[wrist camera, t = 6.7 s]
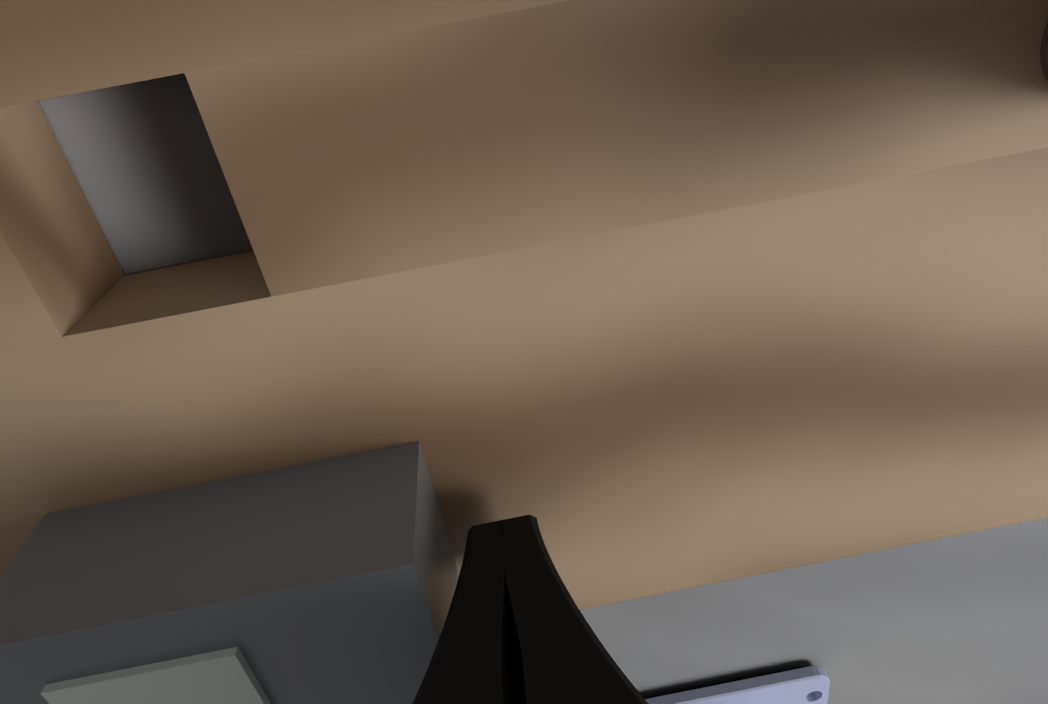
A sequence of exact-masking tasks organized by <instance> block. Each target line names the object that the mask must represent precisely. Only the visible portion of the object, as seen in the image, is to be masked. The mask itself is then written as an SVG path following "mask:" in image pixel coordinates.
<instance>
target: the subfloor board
mask: <svg viewBox="0 0 1048 704" xmlns="http://www.w3.org/2000/svg"><path fill="white" fill-rule="evenodd" d="M1047 21H1048V0H0V577H1V575H2V574H3V572H4V571H5V570H6V568H7V567H8V565H9V564H10V563H11V561H12V560H13V559H14V557H15V556H16V554H17V553H18V552H19V550H20V549H21V547H22V546H23V545H24V543H25V542H26V540H27V539H28V538H29V536H30V535H31V534H32V532H33V531H34V529H35V528H36V527H37V525H38V524H39V522H40V521H41V520H42V518H43V517H44V515H45V514H47V513H52V512H57V511H62V510H67V509H72V508H77V507H83V506H88V505H93V504H98V503H103V502H108V501H113V500H119V499H124V498H129V497H134V496H139V495H144V494H149V493H155V492H160V491H165V490H170V489H175V488H180V487H185V486H191V485H196V484H201V483H206V482H211V481H216V480H221V479H227V478H232V477H237V476H242V475H247V474H252V473H257V472H263V471H268V470H273V469H278V468H283V467H288V466H293V465H299V464H304V463H309V462H314V461H319V460H324V459H329V458H335V457H340V456H345V455H350V454H355V453H360V452H365V451H371V450H376V449H381V448H386V447H391V446H396V445H401V444H407V443H412V442H417V441H419V442H420V446H421V449H422V452H423V456H424V459H425V462H426V466H427V469H428V472H429V475H430V479H431V482H432V485H433V489H434V492H435V495H436V499H437V502H438V505H439V509H440V512H441V515H442V519H443V522H444V525H445V528H446V532H447V535H448V538H449V542H450V545H451V548H452V552H453V555H454V558H455V562H456V565H457V568H458V572H459V574H460V570H461V566H462V562H463V557H464V552H465V547H466V541H467V534H468V530H469V529H470V528H471V527H472V526H474V525H479V524H484V523H489V522H494V521H499V520H504V519H509V518H514V517H520V516H525V515H532V516H534V517H536V518H537V522H538V526H539V529H540V533H541V536H542V538H543V541H544V544H545V546H546V548H547V551H548V553H549V555H550V557H551V559H552V562H553V564H554V566H555V568H556V570H557V572H558V574H559V576H560V578H561V579H562V581H563V583H564V585H565V586H566V588H567V590H568V592H569V593H570V595H571V597H572V599H573V600H574V602H575V604H576V605H577V607H578V609H579V610H581V609H586V608H591V607H596V606H601V605H606V604H611V603H616V602H622V601H627V600H632V599H637V598H642V597H647V596H652V595H657V594H662V593H667V592H672V591H677V590H682V589H687V588H692V587H697V586H702V585H707V584H712V583H718V582H723V581H728V580H733V579H738V578H743V577H748V576H753V575H758V574H763V573H768V572H773V571H778V570H783V569H788V568H793V567H798V566H803V565H808V564H814V563H819V562H824V561H829V560H834V559H839V558H844V557H849V556H854V555H859V554H864V553H869V552H874V551H879V550H884V549H889V548H894V547H899V546H905V545H910V544H915V543H920V542H925V541H930V540H935V539H940V538H945V537H950V536H955V535H960V534H965V533H970V532H975V531H980V530H985V529H990V528H995V527H1001V526H1006V525H1011V524H1016V523H1021V522H1026V521H1031V520H1036V519H1041V518H1046V517H1048V82H1047V81H1046V79H1045V77H1044V75H1043V72H1042V68H1041V62H1040V48H1041V41H1042V37H1043V33H1044V30H1045V27H1046V24H1047ZM182 73H185V76H186V78H187V81H188V84H189V86H190V89H191V91H192V94H193V96H194V99H195V102H196V104H197V107H198V109H199V112H200V114H201V117H202V120H203V122H204V125H205V127H206V130H207V132H208V135H209V138H210V140H211V143H212V145H213V148H214V150H215V153H216V156H217V158H218V161H219V163H220V166H221V168H222V171H223V174H224V176H225V179H226V181H227V184H228V186H229V189H230V192H231V194H232V197H233V199H234V202H235V204H236V207H237V210H238V212H239V215H240V217H241V220H242V222H243V225H244V228H245V230H246V233H247V235H248V238H249V240H250V243H251V246H252V248H253V251H249V252H243V253H238V254H233V255H228V256H223V257H217V258H212V259H207V260H202V261H196V262H191V263H186V264H181V265H176V266H170V267H165V268H160V269H155V270H149V271H144V272H139V273H134V274H129V275H124V273H123V271H122V269H121V267H120V265H119V263H118V261H117V259H116V257H115V255H114V253H113V251H112V249H111V247H110V245H109V243H108V241H107V239H106V237H105V235H104V233H103V231H102V229H101V227H100V225H99V223H98V221H97V219H96V217H95V215H94V213H93V211H92V209H91V207H90V205H89V203H88V201H87V199H86V197H85V195H84V193H83V191H82V189H81V187H80V185H79V183H78V181H77V179H76V177H75V175H74V173H73V171H72V169H71V167H70V165H69V163H68V161H67V159H66V157H65V155H64V153H63V151H62V149H61V147H60V145H59V143H58V141H57V139H56V137H55V135H54V133H53V131H52V129H51V127H50V125H49V123H48V121H47V119H46V117H45V115H44V113H43V111H42V109H41V107H40V105H39V103H38V101H39V100H44V99H50V98H55V97H60V96H66V95H71V94H76V93H82V92H87V91H92V90H97V89H103V88H108V87H113V86H119V85H124V84H129V83H135V82H140V81H145V80H150V79H156V78H161V77H166V76H172V75H177V74H182Z"/></svg>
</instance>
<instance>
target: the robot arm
mask: <svg viewBox="0 0 1048 704" xmlns="http://www.w3.org/2000/svg"><path fill="white" fill-rule="evenodd" d="M829 686H830V680H829V678H828V676H827V674H826V672H825V670H824V669H823V668H821V667H817V666H809V667H804V668H799V669H794V670H789V671H784V672H779V673H774V674H769V675H764V676H759V677H754V678H749V679H744V680H739V681H734V682H729V683H724V684H719V685H714V686H709V687H703V688H698V689H693V690H688V691H683V692H678V693H673V694H668V695H663V696H658V697H653V698H648V699H644V698H643V697H642V695H641V694H640V693H639V692H638V691H637V689H636V688H635V687H634V686H633V685H632V683H631V682H630V681H629V680H628V678H627V677H626V676H625V674H624V673H623V672H622V671H621V669H620V668H619V667H618V665H617V664H616V663H615V661H614V660H613V659H612V657H611V656H610V655H609V653H608V652H607V651H606V649H605V648H604V646H603V645H602V643H601V642H600V641H599V639H598V638H597V636H596V635H595V633H594V632H593V630H592V629H591V627H590V626H589V624H588V623H587V621H586V620H585V618H584V617H583V615H582V613H581V612H580V610H579V609H578V607H577V605H576V604H575V602H574V600H573V599H572V597H571V595H570V593H569V592H568V590H567V588H566V586H565V585H564V583H563V581H562V579H561V578H560V576H559V574H558V572H557V570H556V568H555V566H554V564H553V562H552V559H551V557H550V555H549V553H548V551H547V548H546V546H545V544H544V541H543V538H542V536H541V533H540V529H539V526H538V522H537V518H536V517H534V516H532V515H525V516H520V517H514V518H509V519H504V520H499V521H494V522H489V523H484V524H479V525H474V526H472V527H471V528H470V529H469V530H468V534H467V541H466V547H465V552H464V557H463V562H462V566H461V570H460V574H459V577H458V581H457V585H456V589H455V592H454V595H453V598H452V601H451V605H450V608H449V611H448V614H447V617H446V621H445V624H444V626H443V629H442V632H441V635H440V637H439V640H438V643H437V645H436V648H435V650H434V653H433V656H432V658H431V661H430V664H429V666H428V669H427V671H426V674H425V676H424V678H423V681H422V683H421V685H420V688H419V690H418V692H417V694H416V696H415V699H414V701H413V703H412V704H828V695H829Z"/></svg>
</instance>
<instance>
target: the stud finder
mask: <svg viewBox="0 0 1048 704" xmlns="http://www.w3.org/2000/svg"><path fill="white" fill-rule="evenodd" d="M458 577H459V572H458V568H457V565H456V562H455V558H454V555H453V552H452V548H451V545H450V542H449V538H448V535H447V532H446V528H445V525H444V522H443V519H442V515H441V512H440V509H439V505H438V502H437V499H436V495H435V492H434V489H433V485H432V482H431V479H430V475H429V472H428V469H427V466H426V462H425V459H424V456H423V452H422V449H421V446H420V442H419V441H417V442H412V443H407V444H401V445H396V446H391V447H386V448H381V449H376V450H371V451H365V452H360V453H355V454H350V455H345V456H340V457H335V458H329V459H324V460H319V461H314V462H309V463H304V464H299V465H293V466H288V467H283V468H278V469H273V470H268V471H263V472H257V473H252V474H247V475H242V476H237V477H232V478H227V479H221V480H216V481H211V482H206V483H201V484H196V485H191V486H185V487H180V488H175V489H170V490H165V491H160V492H155V493H149V494H144V495H139V496H134V497H129V498H124V499H119V500H113V501H108V502H103V503H98V504H93V505H88V506H83V507H77V508H72V509H67V510H62V511H57V512H52V513H47V514H45V515H44V517H43V518H42V520H41V521H40V522H39V524H38V525H37V527H36V528H35V529H34V531H33V532H32V534H31V535H30V536H29V538H28V539H27V540H26V542H25V543H24V545H23V546H22V547H21V549H20V550H19V552H18V553H17V554H16V556H15V557H14V559H13V560H12V561H11V563H10V564H9V565H8V567H7V568H6V570H5V571H4V572H3V574H2V575H1V577H0V704H412V703H413V701H414V699H415V696H416V694H417V692H418V690H419V688H420V685H421V683H422V681H423V678H424V676H425V674H426V671H427V669H428V666H429V664H430V661H431V658H432V656H433V653H434V650H435V648H436V645H437V643H438V640H439V637H440V635H441V632H442V629H443V626H444V624H445V621H446V617H447V614H448V611H449V608H450V605H451V601H452V598H453V595H454V592H455V589H456V585H457V581H458Z"/></svg>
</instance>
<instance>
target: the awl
mask: <svg viewBox="0 0 1048 704" xmlns="http://www.w3.org/2000/svg"><path fill="white" fill-rule="evenodd" d="M1040 62H1041V68H1042V72H1043V75H1044V77H1045V79H1046V81H1047V82H1048V21H1047V24H1046V27H1045V30H1044V33H1043V37H1042V41H1041V48H1040Z"/></svg>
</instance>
